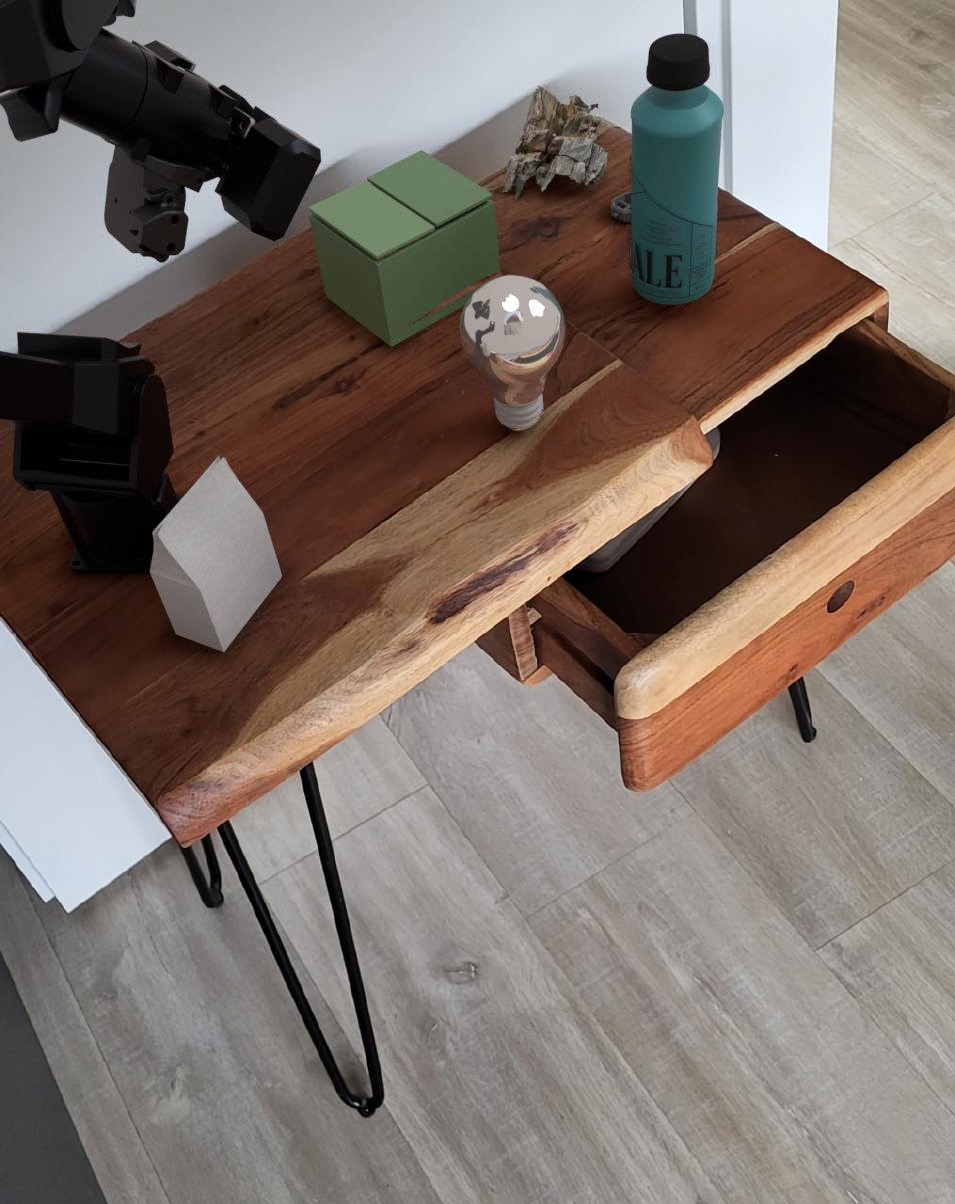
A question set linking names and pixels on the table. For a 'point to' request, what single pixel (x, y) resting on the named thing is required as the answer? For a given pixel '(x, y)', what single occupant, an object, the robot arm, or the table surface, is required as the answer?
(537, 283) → the light bulb
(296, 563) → the table surface
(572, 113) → the rock
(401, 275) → the carton
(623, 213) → the key
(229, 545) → the white milk carton
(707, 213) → the beverage bottle
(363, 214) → the flap
